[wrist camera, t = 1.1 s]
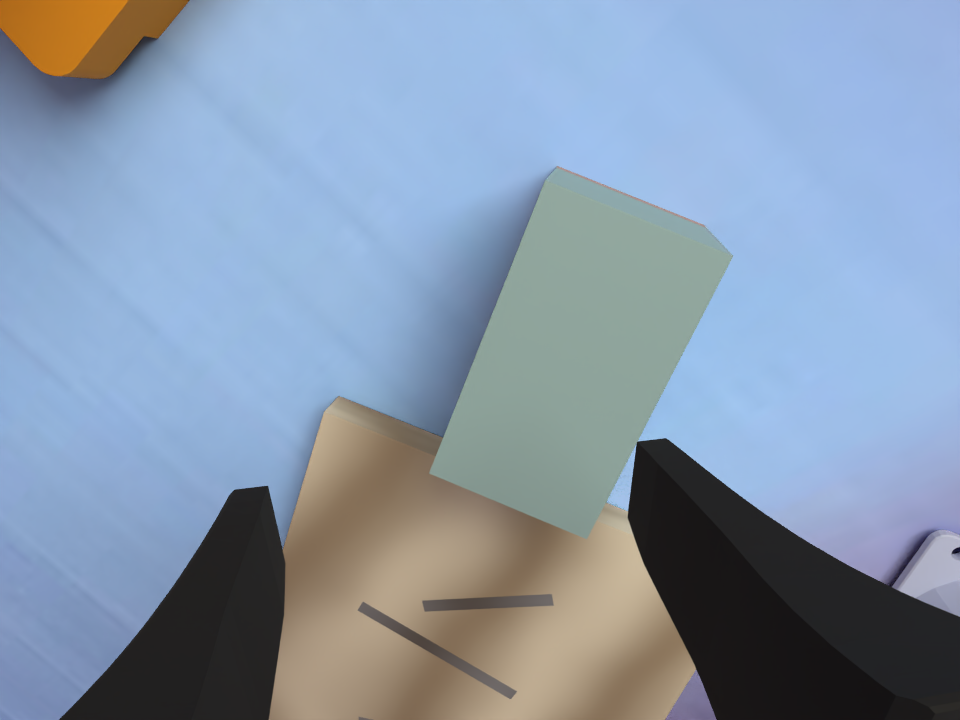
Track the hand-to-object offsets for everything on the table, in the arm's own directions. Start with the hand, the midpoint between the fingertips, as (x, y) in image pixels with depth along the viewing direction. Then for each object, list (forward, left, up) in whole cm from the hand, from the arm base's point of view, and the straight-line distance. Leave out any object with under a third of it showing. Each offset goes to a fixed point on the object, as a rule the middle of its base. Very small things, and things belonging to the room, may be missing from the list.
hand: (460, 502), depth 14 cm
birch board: (-2, +14, -11) cm, 18 cm away
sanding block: (-1, -1, -12) cm, 12 cm away
